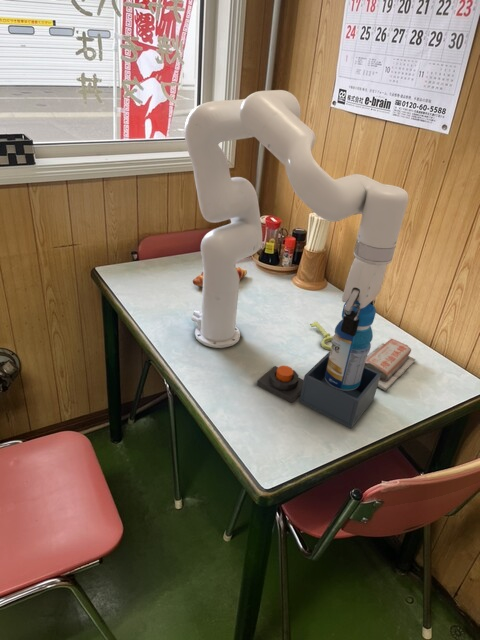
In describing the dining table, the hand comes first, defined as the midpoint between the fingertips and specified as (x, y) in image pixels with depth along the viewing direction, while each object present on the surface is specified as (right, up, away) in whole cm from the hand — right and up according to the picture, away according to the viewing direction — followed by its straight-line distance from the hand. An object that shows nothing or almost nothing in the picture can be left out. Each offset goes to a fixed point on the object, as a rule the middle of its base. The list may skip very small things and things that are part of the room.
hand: (355, 325), depth 103 cm
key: (0, -4, +34) cm, 34 cm away
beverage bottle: (-1, -13, +8) cm, 15 cm away
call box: (-15, -15, +14) cm, 25 cm away
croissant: (-31, +14, +58) cm, 67 cm away
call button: (-14, -13, +13) cm, 23 cm away
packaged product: (+13, -12, +24) cm, 30 cm away
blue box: (-2, -18, +11) cm, 21 cm away
